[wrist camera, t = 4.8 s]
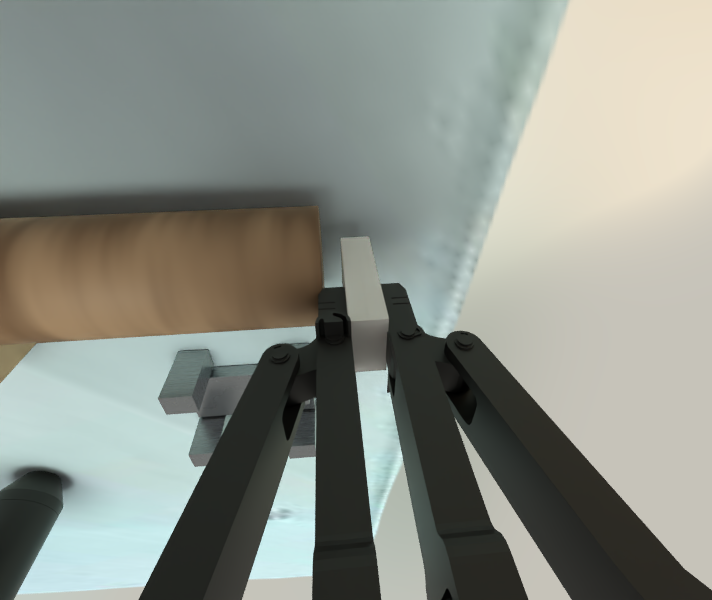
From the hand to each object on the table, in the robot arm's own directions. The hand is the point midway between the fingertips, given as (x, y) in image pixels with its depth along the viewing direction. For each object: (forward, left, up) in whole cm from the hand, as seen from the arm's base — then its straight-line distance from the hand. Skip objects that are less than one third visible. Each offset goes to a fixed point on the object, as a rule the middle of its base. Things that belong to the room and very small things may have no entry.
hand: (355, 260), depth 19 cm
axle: (0, -14, -2) cm, 14 cm away
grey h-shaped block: (+12, -8, -2) cm, 15 cm away
